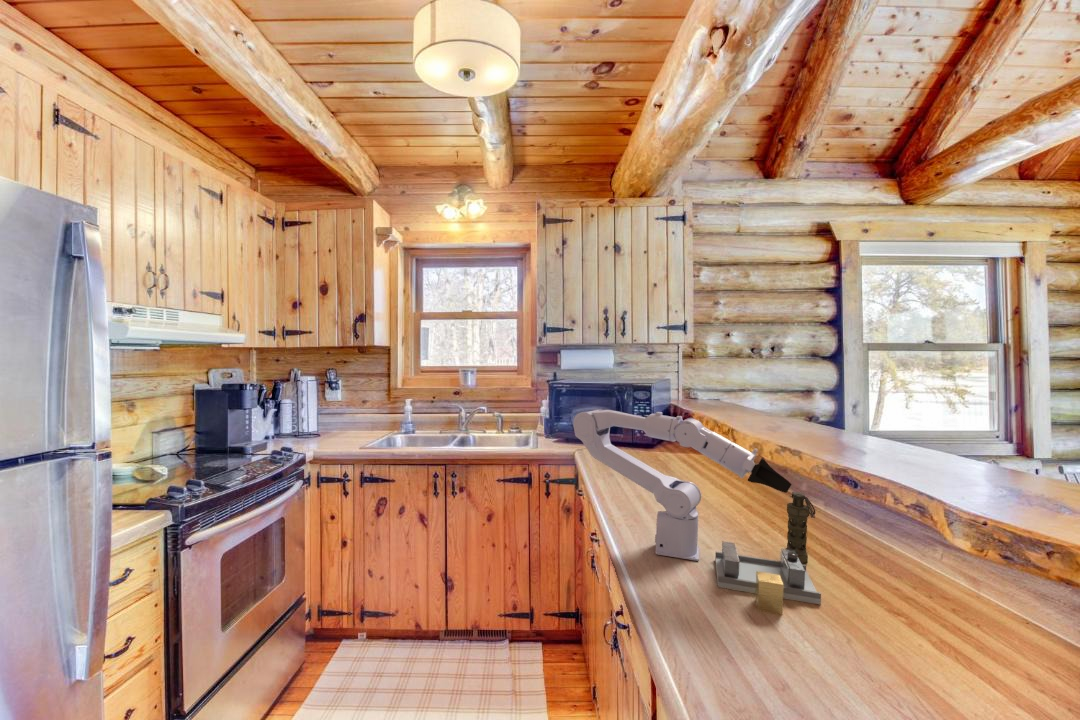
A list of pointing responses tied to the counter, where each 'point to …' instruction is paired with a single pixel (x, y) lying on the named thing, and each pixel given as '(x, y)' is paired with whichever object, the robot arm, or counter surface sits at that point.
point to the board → (754, 564)
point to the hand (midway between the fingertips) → (788, 488)
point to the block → (769, 593)
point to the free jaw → (792, 569)
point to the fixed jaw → (730, 560)
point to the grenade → (798, 524)
